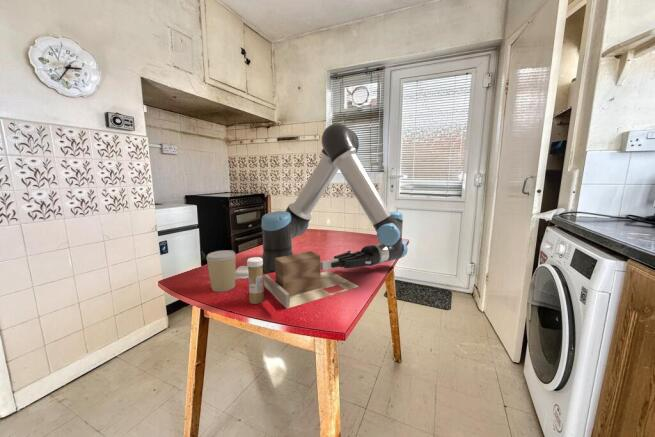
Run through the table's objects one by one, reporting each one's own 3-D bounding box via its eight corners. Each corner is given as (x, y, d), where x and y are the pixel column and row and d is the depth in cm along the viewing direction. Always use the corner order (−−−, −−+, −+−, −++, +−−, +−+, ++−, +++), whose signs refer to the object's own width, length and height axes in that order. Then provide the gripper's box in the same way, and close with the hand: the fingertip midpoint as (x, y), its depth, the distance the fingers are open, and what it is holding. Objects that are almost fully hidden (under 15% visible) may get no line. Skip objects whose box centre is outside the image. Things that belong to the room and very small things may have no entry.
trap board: (329, 274, 100) (329, 260, 99) (359, 290, 85) (359, 274, 84) (264, 290, 86) (263, 275, 85) (286, 313, 71) (286, 295, 71)
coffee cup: (243, 283, 93) (241, 251, 91) (225, 294, 84) (222, 259, 82) (222, 280, 96) (220, 249, 94) (202, 290, 87) (199, 256, 85)
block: (311, 281, 89) (310, 251, 88) (320, 287, 84) (320, 255, 83) (276, 291, 82) (274, 258, 81) (283, 298, 77) (282, 263, 76)
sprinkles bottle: (246, 301, 79) (243, 259, 77) (259, 296, 82) (256, 255, 80) (255, 306, 76) (252, 262, 74) (267, 300, 79) (265, 258, 77)
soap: (238, 271, 106) (237, 265, 105) (255, 271, 106) (254, 264, 105) (231, 280, 97) (231, 272, 96) (249, 279, 97) (249, 272, 97)
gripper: (386, 268, 94) (332, 283, 82) (363, 259, 105) (312, 271, 93) (386, 248, 93) (332, 260, 81) (363, 241, 104) (312, 251, 92)
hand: (321, 266), depth 87 cm, fingers closed
